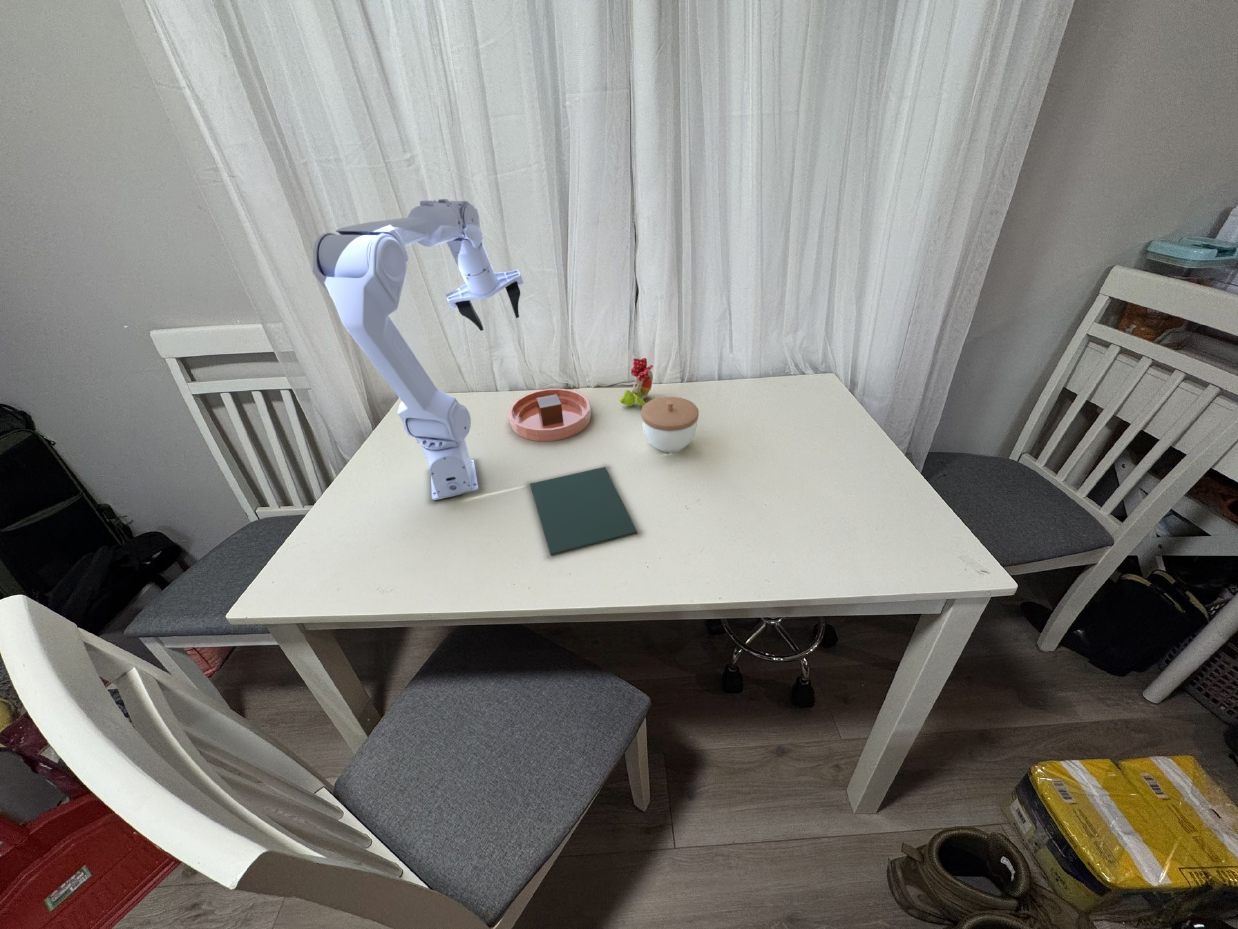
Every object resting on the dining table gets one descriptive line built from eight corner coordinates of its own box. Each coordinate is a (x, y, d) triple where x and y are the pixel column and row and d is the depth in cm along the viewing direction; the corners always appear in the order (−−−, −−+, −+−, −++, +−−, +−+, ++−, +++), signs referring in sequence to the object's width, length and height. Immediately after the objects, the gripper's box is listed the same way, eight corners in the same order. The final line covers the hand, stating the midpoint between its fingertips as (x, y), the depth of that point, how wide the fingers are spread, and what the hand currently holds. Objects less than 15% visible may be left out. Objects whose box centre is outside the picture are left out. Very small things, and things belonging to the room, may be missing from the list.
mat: (637, 533, 82) (637, 531, 82) (550, 555, 79) (550, 553, 79) (605, 468, 96) (604, 466, 96) (530, 485, 93) (530, 483, 92)
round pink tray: (600, 433, 105) (599, 420, 103) (518, 450, 101) (515, 437, 100) (579, 395, 118) (578, 383, 116) (506, 409, 114) (504, 396, 112)
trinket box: (689, 464, 96) (692, 422, 90) (634, 455, 99) (633, 413, 93) (701, 433, 104) (704, 392, 98) (650, 426, 107) (650, 385, 101)
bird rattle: (630, 403, 118) (615, 407, 110) (638, 355, 115) (622, 355, 107) (656, 409, 116) (642, 413, 108) (664, 359, 113) (650, 360, 105)
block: (563, 422, 108) (561, 403, 106) (542, 426, 107) (540, 408, 105) (559, 411, 112) (556, 394, 109) (539, 415, 111) (536, 397, 108)
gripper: (507, 240, 97) (527, 297, 108) (433, 265, 95) (461, 320, 107) (516, 262, 93) (536, 318, 104) (439, 288, 92) (468, 342, 103)
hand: (498, 320), depth 106 cm, fingers open, 7 cm apart
